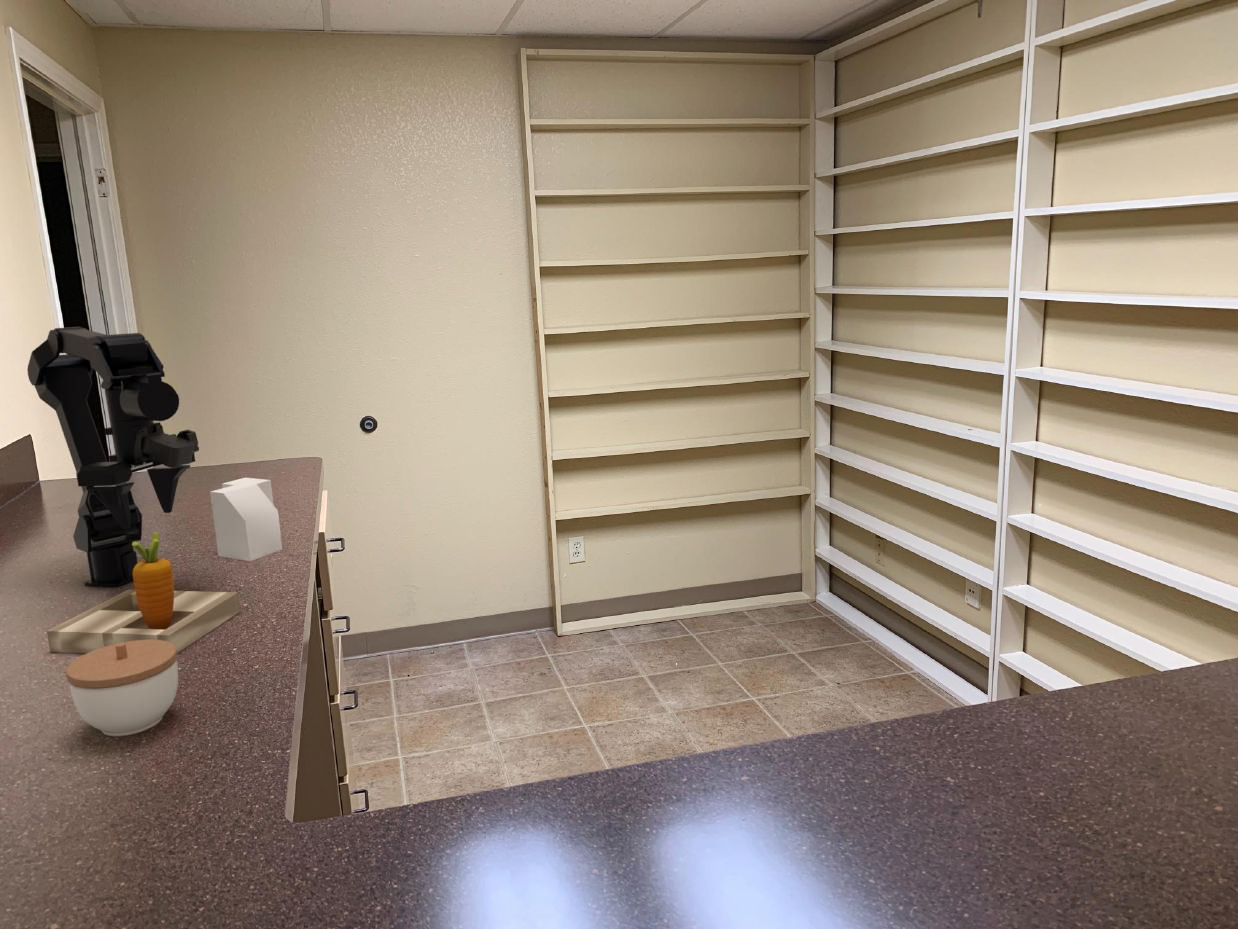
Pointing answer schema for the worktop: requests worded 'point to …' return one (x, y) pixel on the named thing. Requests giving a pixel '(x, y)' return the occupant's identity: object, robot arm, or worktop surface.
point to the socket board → (143, 622)
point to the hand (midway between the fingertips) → (147, 520)
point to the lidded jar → (125, 685)
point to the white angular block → (246, 519)
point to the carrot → (154, 586)
